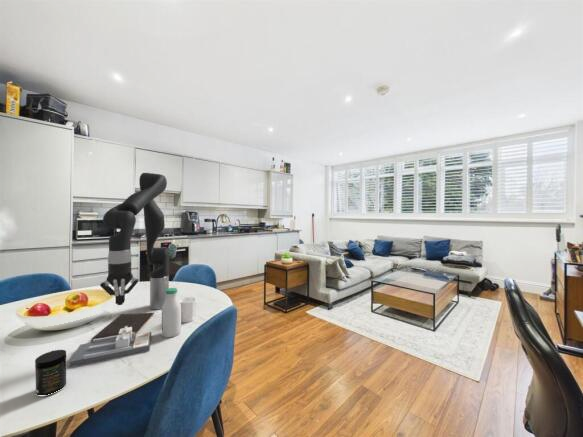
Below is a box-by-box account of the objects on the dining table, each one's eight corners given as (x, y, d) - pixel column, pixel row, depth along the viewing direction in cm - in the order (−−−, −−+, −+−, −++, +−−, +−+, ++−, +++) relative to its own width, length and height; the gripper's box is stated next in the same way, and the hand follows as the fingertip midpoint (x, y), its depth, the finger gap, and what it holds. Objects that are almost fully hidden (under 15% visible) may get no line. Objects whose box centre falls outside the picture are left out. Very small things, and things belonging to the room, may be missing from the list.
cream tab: (120, 337, 100) (120, 327, 100) (132, 335, 102) (132, 325, 102) (118, 342, 96) (118, 331, 96) (130, 340, 98) (130, 329, 98)
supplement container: (71, 386, 76) (70, 353, 75) (41, 401, 70) (41, 365, 69) (60, 379, 79) (60, 347, 78) (31, 393, 72) (30, 358, 72)
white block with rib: (117, 345, 94) (117, 333, 94) (129, 342, 96) (129, 331, 96) (115, 350, 91) (115, 338, 91) (128, 348, 93) (128, 336, 93)
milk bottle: (184, 331, 111) (185, 287, 110) (171, 339, 104) (171, 292, 103) (171, 328, 113) (171, 285, 113) (157, 336, 106) (157, 290, 105)
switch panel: (80, 349, 95) (80, 341, 95) (151, 336, 106) (151, 329, 106) (68, 367, 84) (68, 359, 84) (149, 351, 95) (149, 343, 95)
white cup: (189, 324, 118) (189, 303, 117) (175, 322, 119) (175, 302, 119) (198, 317, 125) (199, 297, 125) (185, 315, 127) (185, 296, 127)
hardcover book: (154, 316, 126) (154, 312, 126) (134, 340, 103) (134, 334, 103) (119, 318, 123) (119, 314, 123) (91, 343, 101) (91, 337, 101)
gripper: (140, 258, 103) (140, 298, 103) (101, 260, 97) (102, 303, 98) (138, 261, 96) (138, 305, 97) (96, 264, 90) (96, 310, 91)
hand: (120, 304), depth 97 cm, fingers closed
